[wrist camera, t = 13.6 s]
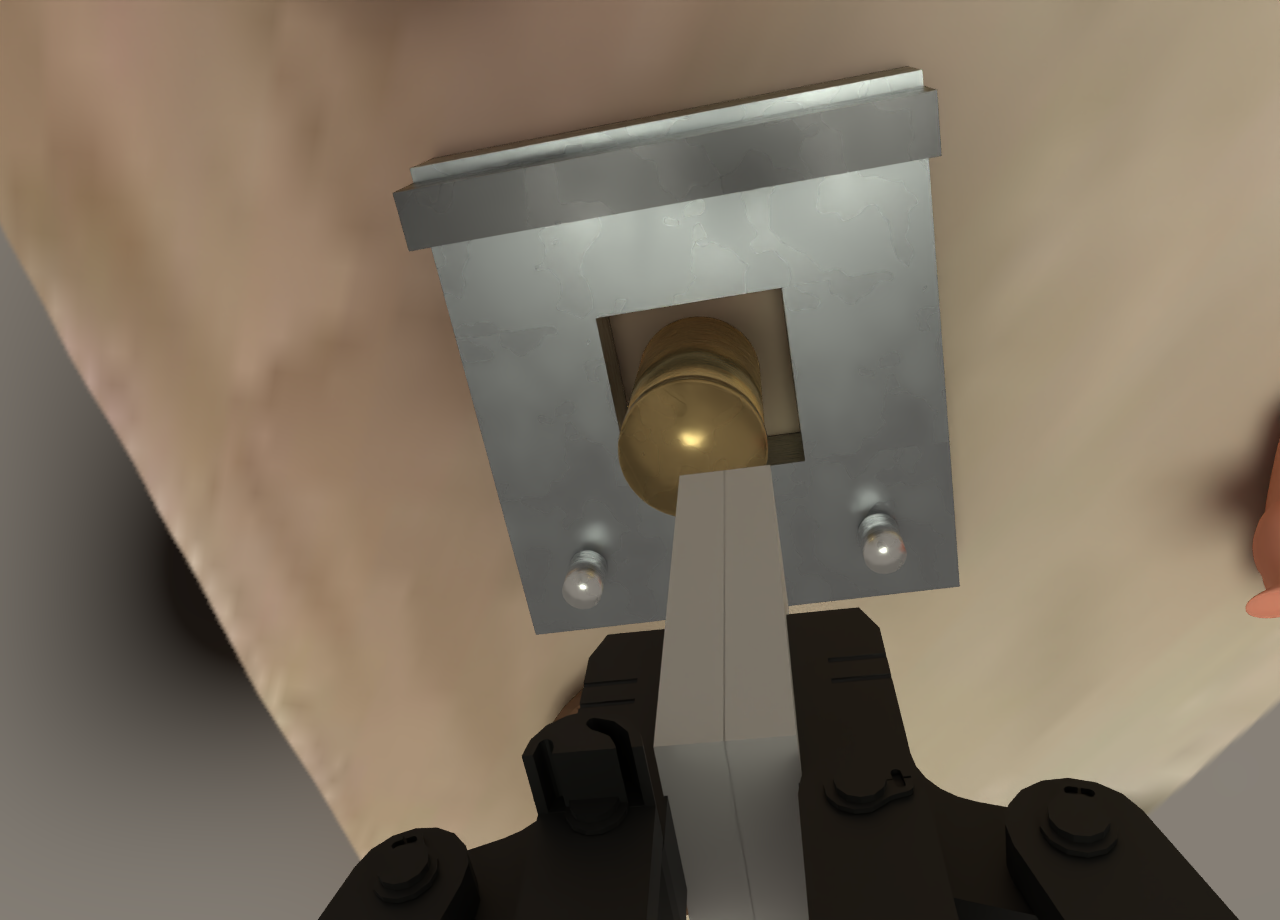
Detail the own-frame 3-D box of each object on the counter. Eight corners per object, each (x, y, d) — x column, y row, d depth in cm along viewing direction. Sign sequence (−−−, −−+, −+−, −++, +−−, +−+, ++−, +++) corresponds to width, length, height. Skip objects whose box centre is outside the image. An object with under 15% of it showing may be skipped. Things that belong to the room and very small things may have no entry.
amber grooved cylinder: (627, 326, 40) (604, 393, 33) (751, 306, 39) (756, 370, 32) (650, 440, 42) (633, 527, 35) (769, 423, 41) (777, 508, 34)
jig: (432, 158, 38) (388, 178, 33) (907, 66, 35) (935, 73, 30) (547, 598, 46) (525, 667, 41) (945, 550, 43) (972, 618, 38)
